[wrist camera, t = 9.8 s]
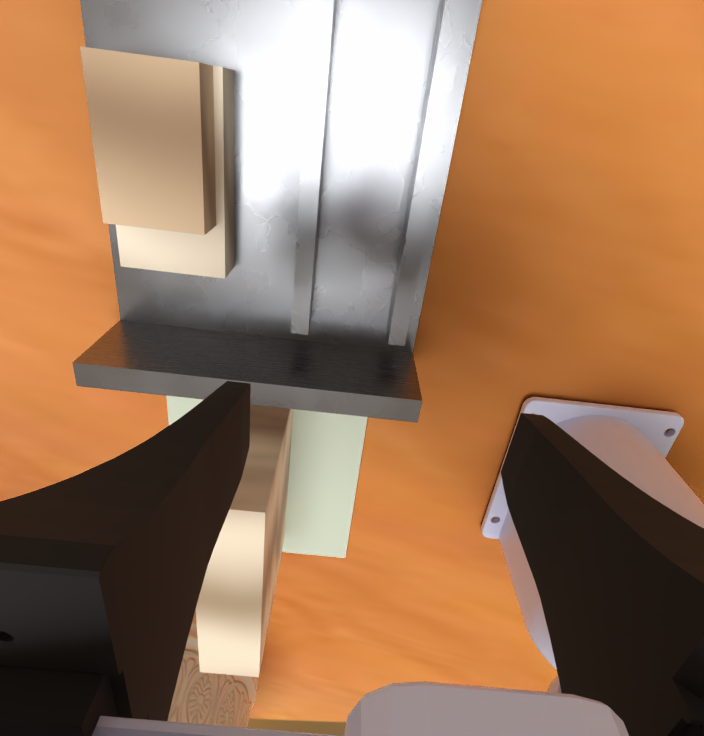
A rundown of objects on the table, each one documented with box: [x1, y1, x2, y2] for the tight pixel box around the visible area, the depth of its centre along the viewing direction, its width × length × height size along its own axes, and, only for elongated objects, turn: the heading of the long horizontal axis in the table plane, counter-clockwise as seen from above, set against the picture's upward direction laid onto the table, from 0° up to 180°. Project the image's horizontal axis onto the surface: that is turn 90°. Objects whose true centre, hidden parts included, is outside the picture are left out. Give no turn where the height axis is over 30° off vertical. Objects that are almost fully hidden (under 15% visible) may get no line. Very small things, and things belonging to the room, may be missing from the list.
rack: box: [73, 0, 482, 422], centre depth 17 cm, size 16×13×5 cm
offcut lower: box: [116, 66, 234, 279], centre depth 18 cm, size 7×4×2 cm, turn 173°
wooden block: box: [196, 405, 293, 677], centre depth 22 cm, size 10×3×8 cm, turn 173°
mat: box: [167, 396, 368, 558], centre depth 26 cm, size 12×10×1 cm
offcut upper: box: [80, 46, 216, 235], centre depth 16 cm, size 5×3×2 cm
